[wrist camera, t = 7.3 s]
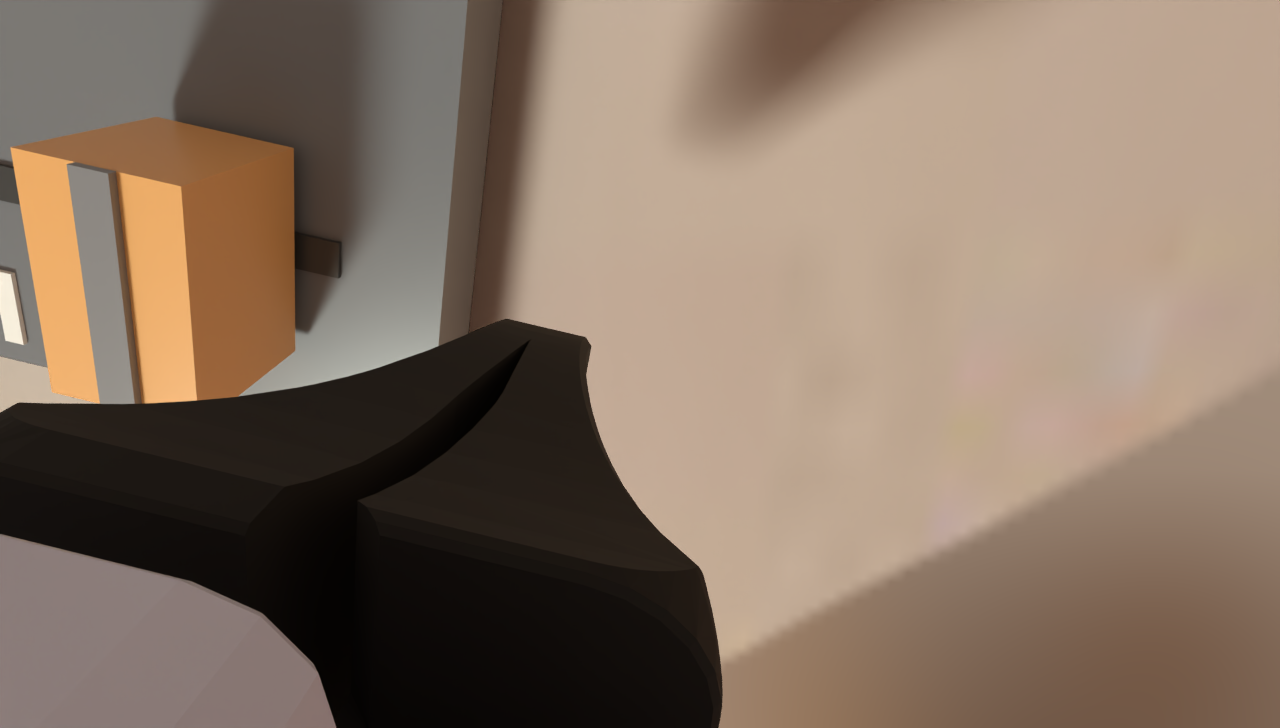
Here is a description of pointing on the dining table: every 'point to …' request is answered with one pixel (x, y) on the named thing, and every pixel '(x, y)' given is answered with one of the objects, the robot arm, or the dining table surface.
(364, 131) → the console
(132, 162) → the block
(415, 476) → the robot arm
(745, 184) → the dining table surface
